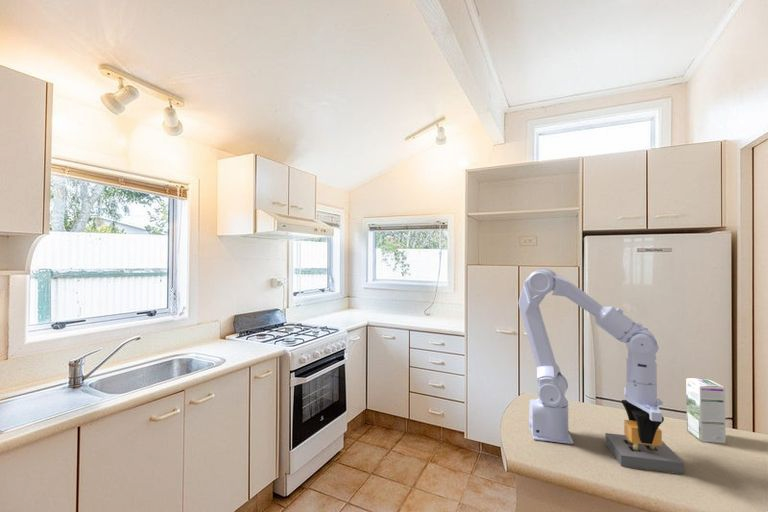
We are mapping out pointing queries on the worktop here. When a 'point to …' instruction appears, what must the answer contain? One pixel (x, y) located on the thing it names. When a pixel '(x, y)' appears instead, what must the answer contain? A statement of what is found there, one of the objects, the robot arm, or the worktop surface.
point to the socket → (644, 455)
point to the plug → (633, 435)
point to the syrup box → (706, 410)
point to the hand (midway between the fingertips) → (641, 437)
